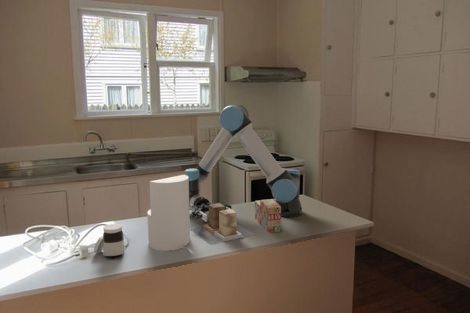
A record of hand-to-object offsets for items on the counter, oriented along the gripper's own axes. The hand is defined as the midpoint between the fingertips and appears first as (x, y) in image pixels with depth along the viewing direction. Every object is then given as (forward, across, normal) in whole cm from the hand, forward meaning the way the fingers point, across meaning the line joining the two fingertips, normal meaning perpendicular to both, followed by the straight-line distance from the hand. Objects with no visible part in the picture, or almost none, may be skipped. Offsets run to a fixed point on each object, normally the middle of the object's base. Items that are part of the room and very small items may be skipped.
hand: (220, 215), depth 179 cm
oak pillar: (+7, 0, -7) cm, 10 cm away
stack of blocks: (+2, -24, -8) cm, 26 cm away
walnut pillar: (-3, 0, -7) cm, 8 cm away
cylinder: (0, +24, -8) cm, 25 cm away
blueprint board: (+2, 0, -8) cm, 8 cm away
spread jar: (0, +49, -8) cm, 49 cm away
